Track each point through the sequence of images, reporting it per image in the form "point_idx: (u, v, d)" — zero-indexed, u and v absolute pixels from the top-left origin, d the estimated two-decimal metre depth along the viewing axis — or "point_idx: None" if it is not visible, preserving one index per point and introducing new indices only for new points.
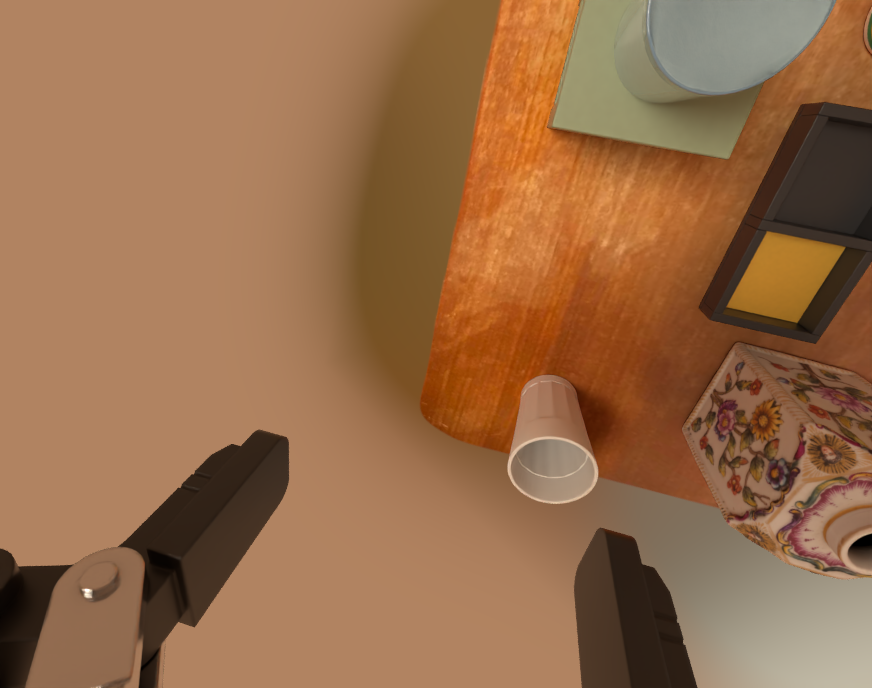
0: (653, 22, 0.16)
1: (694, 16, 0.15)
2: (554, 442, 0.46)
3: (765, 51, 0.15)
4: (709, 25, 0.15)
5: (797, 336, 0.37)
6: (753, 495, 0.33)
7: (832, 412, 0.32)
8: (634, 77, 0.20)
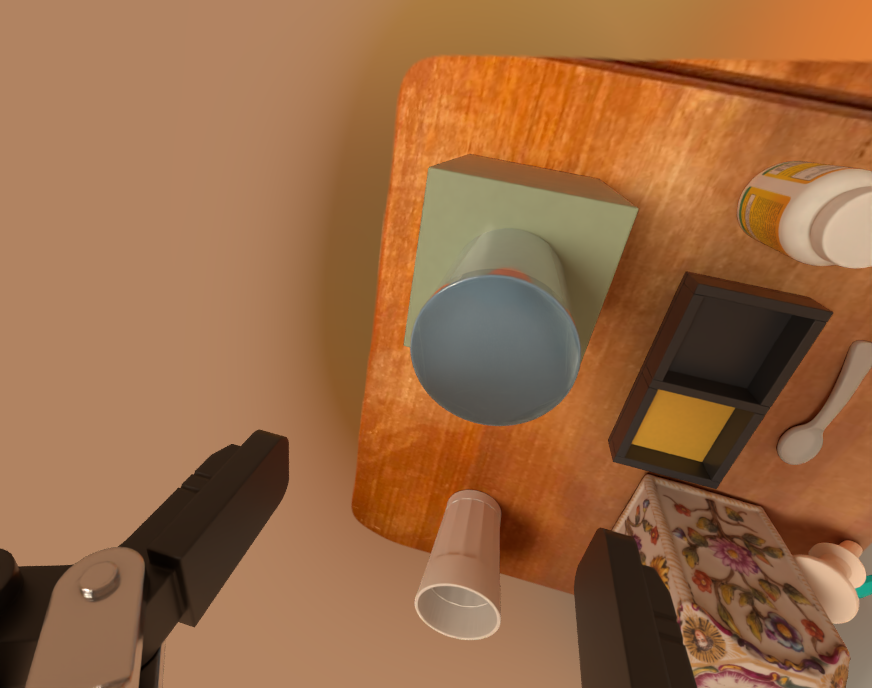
0: (418, 366, 0.16)
1: (454, 367, 0.16)
2: None
3: (524, 400, 0.16)
4: (468, 374, 0.16)
5: (697, 481, 0.38)
6: None
7: (717, 579, 0.32)
8: None
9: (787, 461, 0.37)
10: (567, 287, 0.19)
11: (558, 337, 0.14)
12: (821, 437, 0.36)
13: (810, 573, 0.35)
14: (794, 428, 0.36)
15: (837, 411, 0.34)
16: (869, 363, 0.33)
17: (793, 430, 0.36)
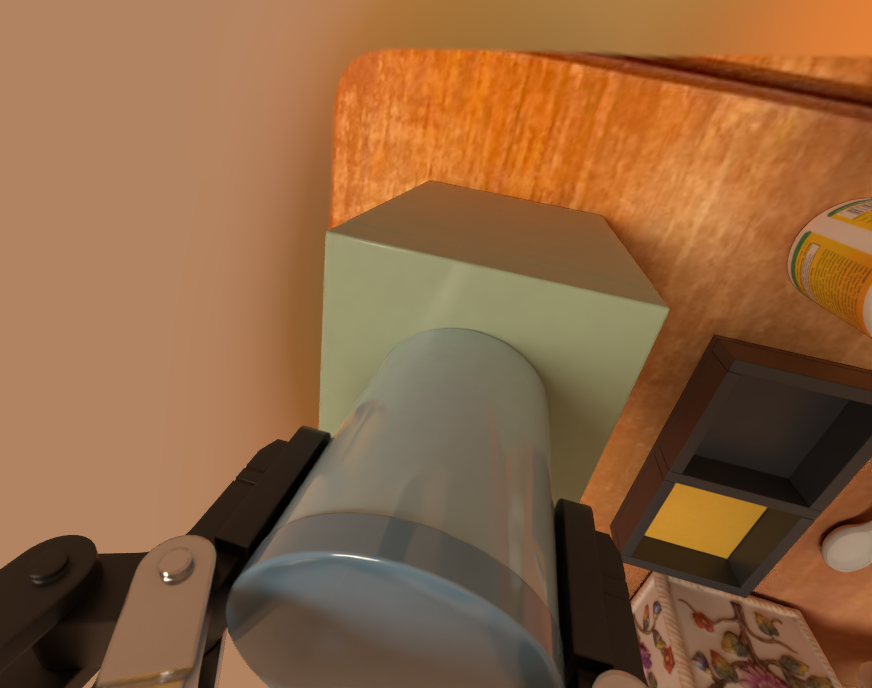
0: (251, 661, 0.08)
1: (315, 673, 0.08)
2: None
3: None
4: None
5: (723, 588, 0.30)
6: None
7: None
8: None
9: (834, 567, 0.29)
10: (548, 452, 0.11)
11: (515, 673, 0.07)
12: None
13: None
14: (845, 528, 0.28)
15: None
16: None
17: (843, 531, 0.28)
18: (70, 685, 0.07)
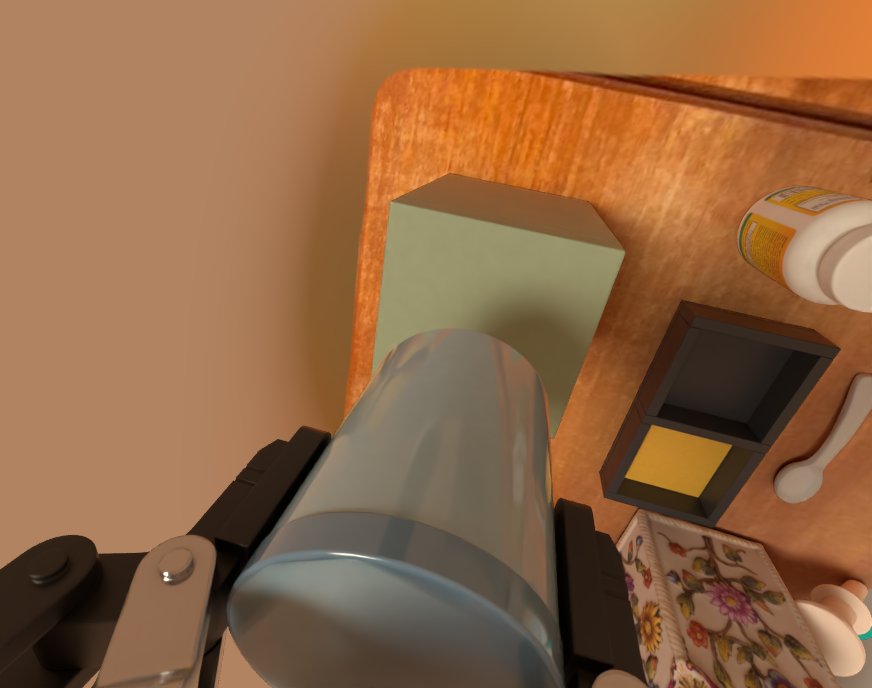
0: (252, 659, 0.08)
1: (315, 672, 0.08)
2: None
3: None
4: (346, 686, 0.08)
5: (693, 520, 0.35)
6: None
7: (714, 631, 0.30)
8: None
9: (784, 499, 0.35)
10: (548, 451, 0.11)
11: (515, 671, 0.07)
12: (821, 475, 0.33)
13: (813, 620, 0.33)
14: (792, 465, 0.34)
15: (838, 449, 0.32)
16: None
17: (790, 467, 0.34)
18: (70, 685, 0.07)
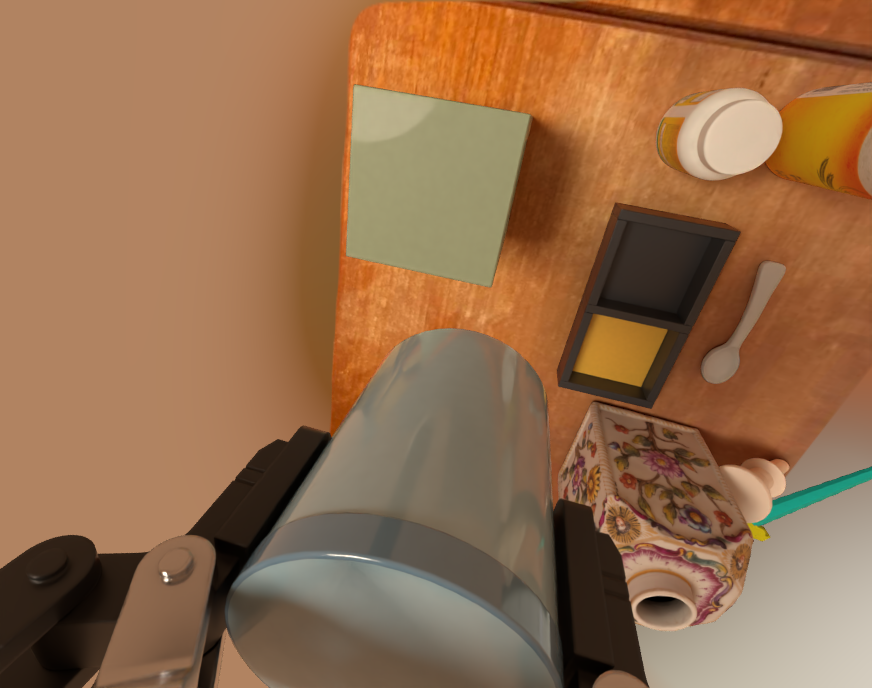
0: (250, 660, 0.08)
1: (314, 673, 0.08)
2: None
3: None
4: (344, 687, 0.08)
5: (634, 402, 0.41)
6: None
7: (643, 480, 0.36)
8: None
9: (709, 380, 0.40)
10: (547, 452, 0.11)
11: (513, 672, 0.07)
12: (738, 356, 0.39)
13: (733, 480, 0.39)
14: (714, 349, 0.39)
15: (749, 329, 0.37)
16: (775, 282, 0.36)
17: (712, 350, 0.39)
18: (70, 685, 0.07)
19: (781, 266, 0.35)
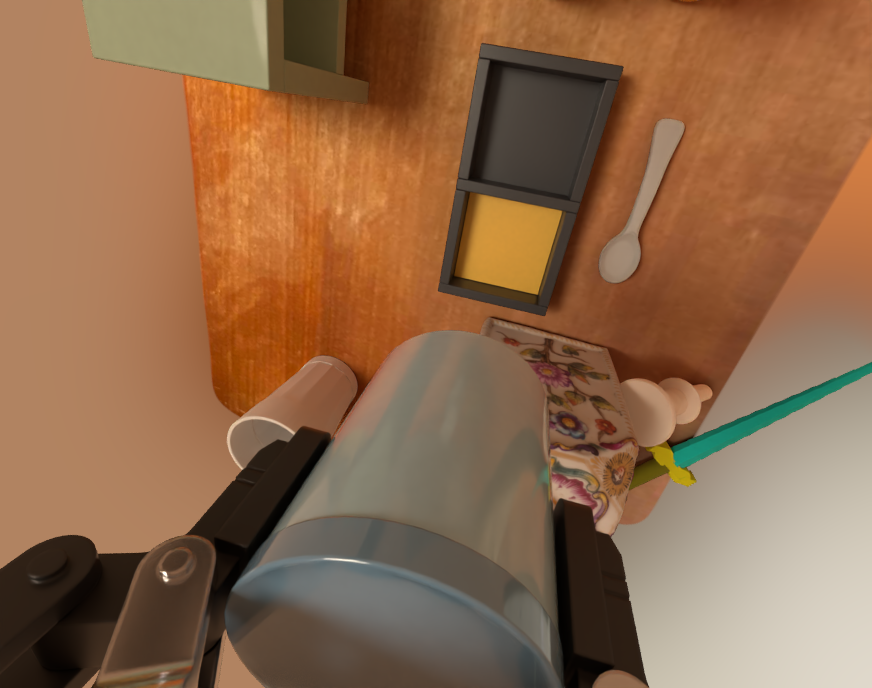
0: (251, 664, 0.08)
1: (314, 677, 0.08)
2: None
3: None
4: None
5: (525, 308, 0.35)
6: None
7: None
8: None
9: (608, 280, 0.34)
10: (547, 454, 0.11)
11: (514, 676, 0.07)
12: (638, 246, 0.33)
13: (635, 396, 0.32)
14: (611, 239, 0.33)
15: (646, 207, 0.31)
16: (672, 144, 0.29)
17: (609, 241, 0.33)
18: (70, 685, 0.07)
19: (678, 123, 0.29)
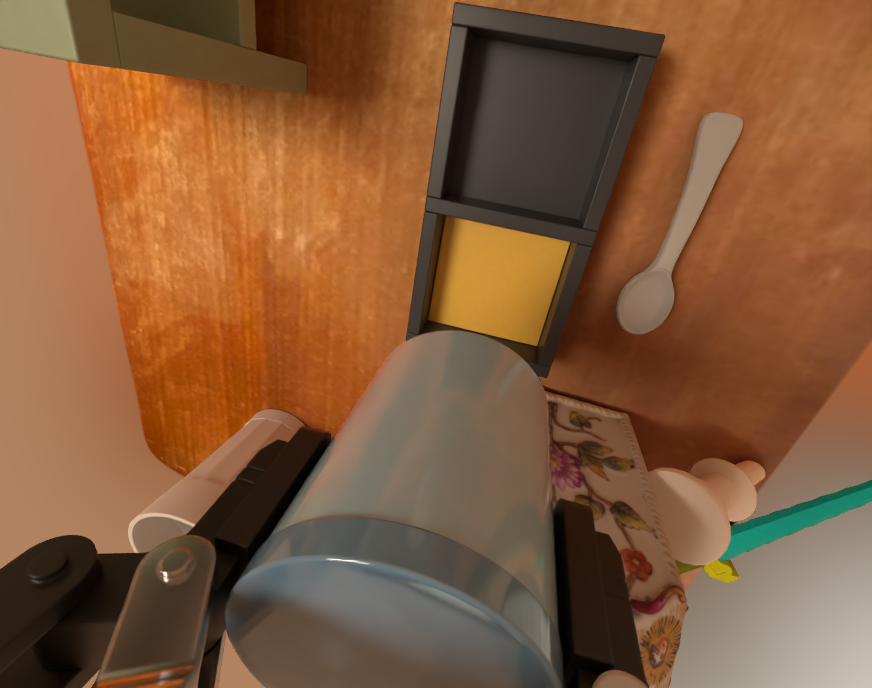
0: (251, 663, 0.08)
1: (315, 677, 0.08)
2: None
3: None
4: None
5: None
6: None
7: None
8: None
9: (629, 330, 0.25)
10: (547, 454, 0.11)
11: (514, 677, 0.07)
12: (671, 287, 0.24)
13: (670, 493, 0.24)
14: (634, 276, 0.24)
15: (684, 236, 0.22)
16: (725, 148, 0.21)
17: (632, 279, 0.24)
18: (70, 685, 0.07)
19: (735, 118, 0.20)
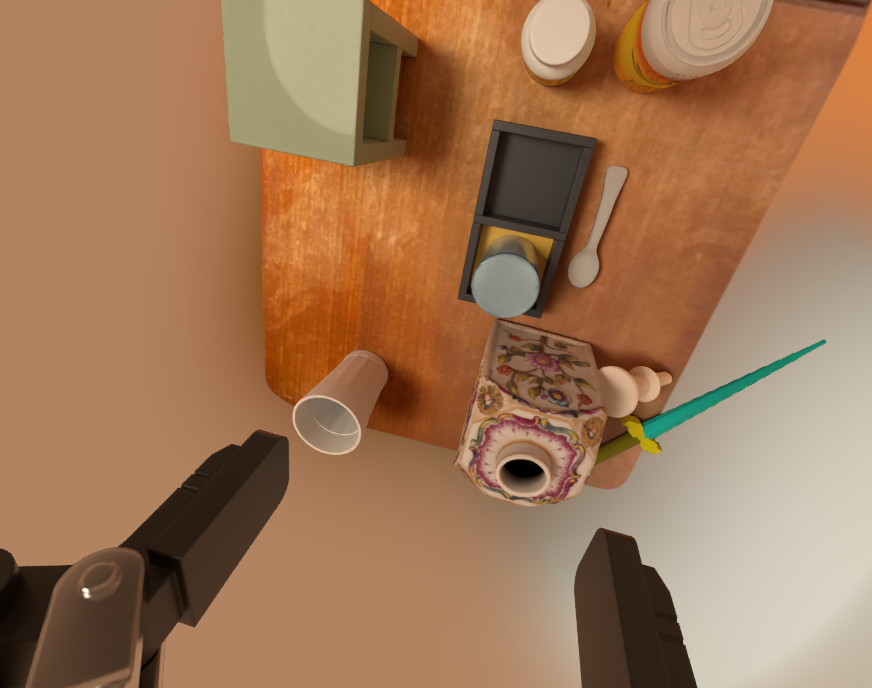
0: (474, 292, 0.39)
1: (489, 292, 0.39)
2: None
3: (517, 305, 0.39)
4: (495, 295, 0.39)
5: (525, 312, 0.45)
6: (463, 440, 0.41)
7: (519, 370, 0.40)
8: None
9: (575, 285, 0.44)
10: (537, 261, 0.42)
11: (530, 278, 0.37)
12: (597, 259, 0.43)
13: (609, 379, 0.43)
14: (577, 253, 0.43)
15: (601, 230, 0.41)
16: (619, 184, 0.40)
17: (575, 255, 0.43)
18: None
19: (623, 169, 0.39)
